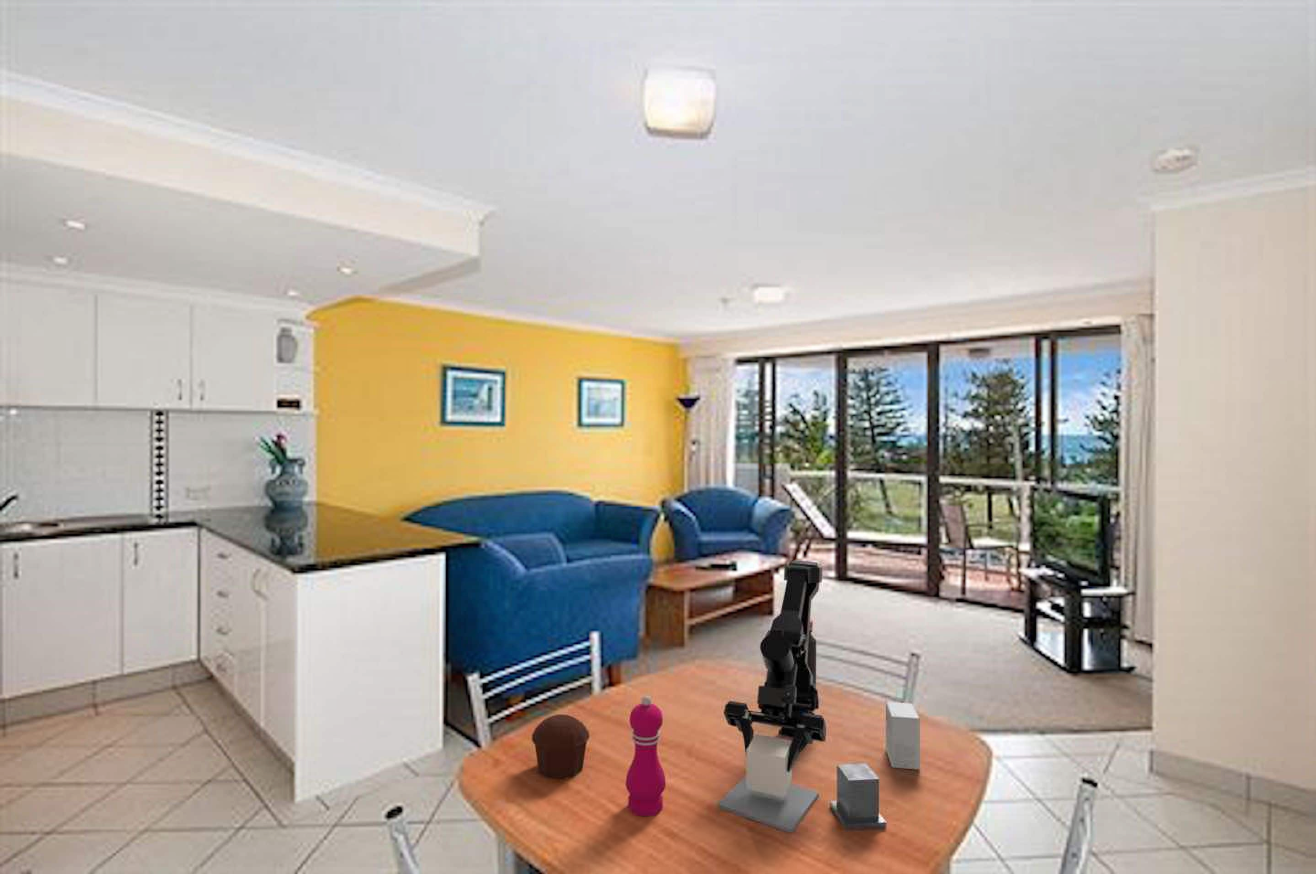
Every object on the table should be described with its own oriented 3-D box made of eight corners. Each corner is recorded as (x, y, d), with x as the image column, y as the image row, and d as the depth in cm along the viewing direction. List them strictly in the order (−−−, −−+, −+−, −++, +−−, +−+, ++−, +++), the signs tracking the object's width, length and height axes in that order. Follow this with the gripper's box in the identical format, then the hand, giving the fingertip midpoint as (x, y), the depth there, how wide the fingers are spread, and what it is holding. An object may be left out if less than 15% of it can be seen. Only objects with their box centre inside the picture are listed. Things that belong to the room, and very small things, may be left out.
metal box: (830, 806, 118) (830, 762, 118) (868, 804, 119) (868, 760, 119) (845, 830, 111) (846, 783, 111) (886, 828, 111) (886, 781, 112)
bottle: (795, 703, 164) (795, 624, 164) (785, 693, 171) (785, 617, 171) (820, 701, 165) (821, 623, 165) (809, 691, 172) (809, 616, 172)
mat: (717, 807, 117) (717, 804, 117) (750, 774, 129) (750, 771, 129) (791, 833, 110) (791, 829, 110) (818, 795, 122) (818, 792, 122)
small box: (920, 771, 131) (920, 718, 131) (890, 768, 132) (891, 716, 132) (912, 752, 139) (913, 703, 139) (885, 749, 140) (885, 700, 140)
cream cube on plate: (754, 770, 124) (755, 734, 124) (791, 777, 121) (792, 740, 121) (746, 789, 118) (746, 750, 118) (784, 797, 115) (785, 757, 115)
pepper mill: (624, 796, 121) (625, 688, 121) (663, 795, 121) (664, 688, 121) (626, 819, 113) (627, 704, 114) (667, 817, 114) (668, 703, 114)
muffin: (600, 763, 133) (600, 714, 133) (568, 788, 123) (568, 736, 123) (553, 750, 139) (554, 703, 139) (519, 773, 129) (519, 722, 129)
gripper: (726, 659, 127) (709, 740, 116) (824, 672, 120) (816, 760, 110) (736, 685, 134) (721, 764, 124) (829, 699, 127) (821, 783, 117)
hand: (767, 767), depth 118 cm, fingers closed on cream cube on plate, 7 cm apart
